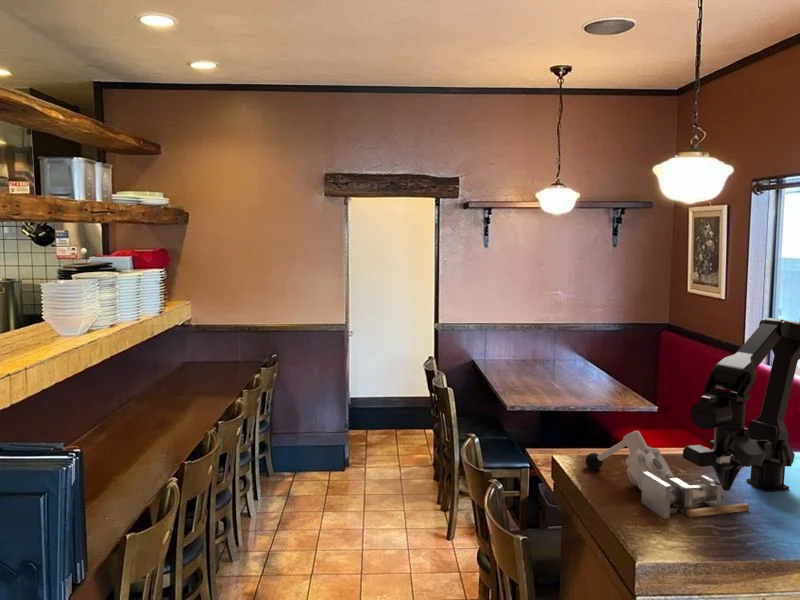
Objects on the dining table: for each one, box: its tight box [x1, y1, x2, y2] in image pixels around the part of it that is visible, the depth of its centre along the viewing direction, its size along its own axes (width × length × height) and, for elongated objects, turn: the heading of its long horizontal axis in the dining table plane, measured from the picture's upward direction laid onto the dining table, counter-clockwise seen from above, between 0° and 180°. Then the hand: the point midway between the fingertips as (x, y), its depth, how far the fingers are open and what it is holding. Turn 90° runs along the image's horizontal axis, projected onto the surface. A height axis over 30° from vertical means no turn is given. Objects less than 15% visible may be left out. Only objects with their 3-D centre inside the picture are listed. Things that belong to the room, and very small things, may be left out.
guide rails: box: [686, 493, 750, 518], centre depth 141 cm, size 14×9×1 cm, turn 103°
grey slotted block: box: [673, 474, 723, 509], centre depth 140 cm, size 8×6×6 cm
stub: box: [640, 472, 690, 520], centre depth 138 cm, size 7×8×7 cm
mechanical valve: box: [584, 430, 675, 491], centre depth 155 cm, size 10×18×15 cm
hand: (726, 490), depth 142 cm, fingers closed
